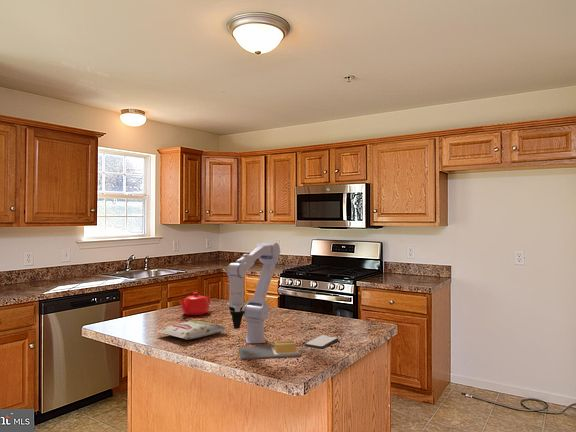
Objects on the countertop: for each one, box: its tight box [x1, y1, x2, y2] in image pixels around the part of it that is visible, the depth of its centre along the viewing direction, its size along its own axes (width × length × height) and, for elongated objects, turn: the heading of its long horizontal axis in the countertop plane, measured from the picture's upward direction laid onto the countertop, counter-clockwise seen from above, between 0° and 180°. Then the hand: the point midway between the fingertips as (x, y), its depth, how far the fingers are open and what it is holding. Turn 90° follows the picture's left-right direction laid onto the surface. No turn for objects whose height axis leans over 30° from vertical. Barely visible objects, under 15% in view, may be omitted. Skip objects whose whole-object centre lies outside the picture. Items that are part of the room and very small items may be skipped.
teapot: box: [178, 291, 211, 316], centre depth 237 cm, size 25×16×12 cm, turn 149°
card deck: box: [273, 339, 297, 352], centre depth 168 cm, size 8×5×3 cm, turn 100°
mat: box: [238, 345, 302, 361], centre depth 166 cm, size 14×23×1 cm, turn 100°
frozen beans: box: [156, 320, 229, 341], centre depth 192 cm, size 21×6×25 cm
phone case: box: [304, 334, 339, 350], centre depth 180 cm, size 9×2×16 cm
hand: (236, 326), depth 170 cm, fingers open, 7 cm apart
